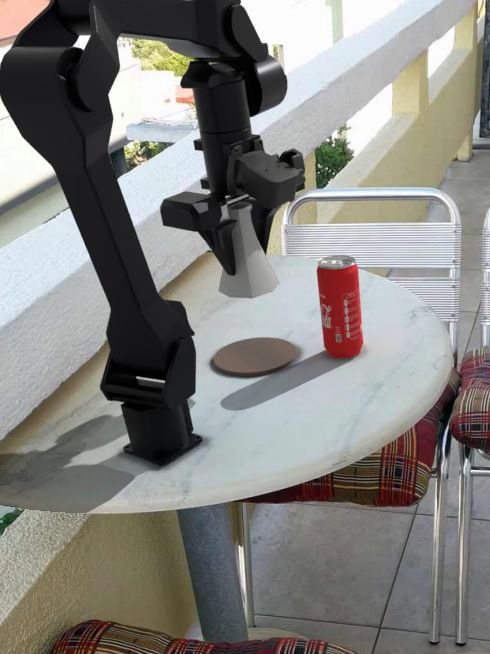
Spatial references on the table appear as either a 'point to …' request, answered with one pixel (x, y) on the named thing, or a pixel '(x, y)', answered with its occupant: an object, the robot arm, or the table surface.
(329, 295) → the beverage can
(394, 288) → the table surface
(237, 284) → the flask
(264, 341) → the coaster
